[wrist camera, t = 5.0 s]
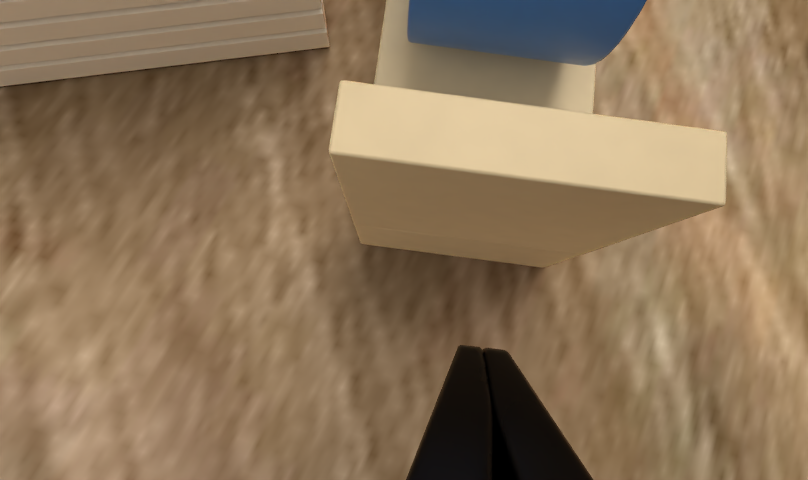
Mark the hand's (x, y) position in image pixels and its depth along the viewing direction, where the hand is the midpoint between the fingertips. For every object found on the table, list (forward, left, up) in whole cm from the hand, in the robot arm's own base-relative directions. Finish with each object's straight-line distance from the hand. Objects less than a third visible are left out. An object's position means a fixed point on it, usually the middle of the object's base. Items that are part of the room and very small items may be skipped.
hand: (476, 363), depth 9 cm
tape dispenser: (+5, -8, -7) cm, 12 cm away
